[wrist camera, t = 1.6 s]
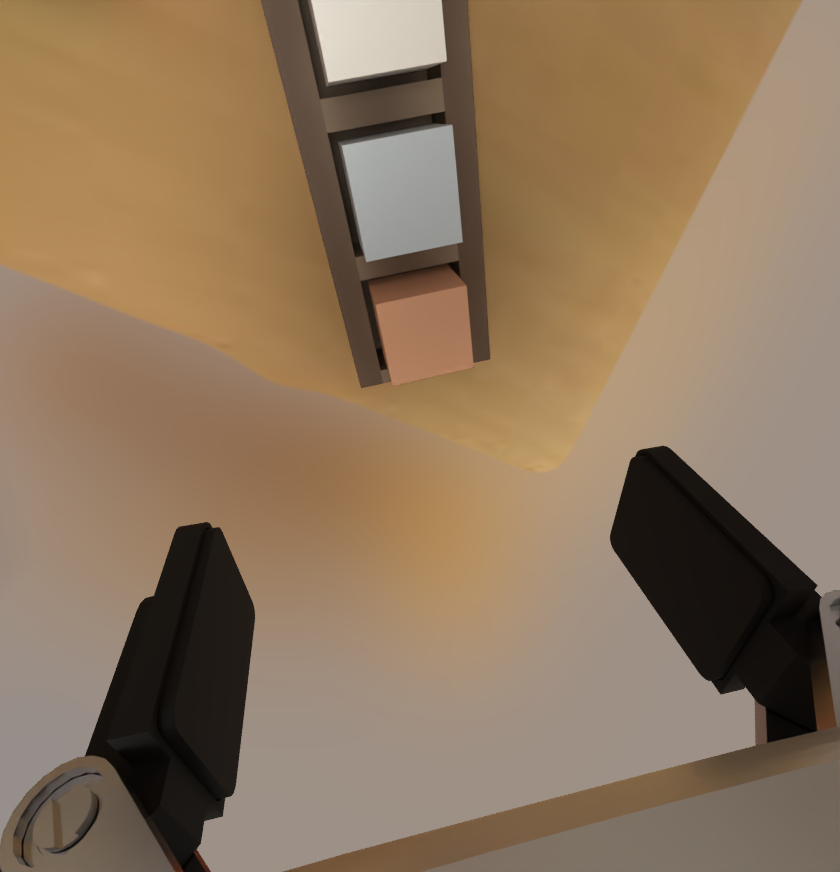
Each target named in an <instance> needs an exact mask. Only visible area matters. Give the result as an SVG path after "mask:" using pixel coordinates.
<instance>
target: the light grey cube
mask: <svg viewBox="0 0 840 872" xmlns="http://www.w3.org/2000/svg"><path fill="white" fill-rule="evenodd" d="M338 145H339V150H340V155H341V159H342V164H343V169H344V173H345V178H346V183H347V187H348V192H349V197H350V201H351V206H352V211H353V215H354V220H355V225H356V229H357V234H358V239H359V243H360V246H361V248H362V251H363V254H364V257H365V259H366V262H369V261H374V260H379V259H384V258H388V257H393V256H398V255H403V254H408V253H413V252H418V251H422V250H427V249H432V248H437V247H442V246H447V245H451V244H456V243H461V242H463V239H462V228H461V217H460V205H459V194H458V182H457V171H456V159H455V148H454V137H453V125H448V124H433V123H431V124H426V125H420V126H415V127H410V128H405V129H399V130H394V131H389V132H383V133H378V134H373V135H367V136H362V137H357V138H351V139H346V140H341V141H338Z"/></svg>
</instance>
